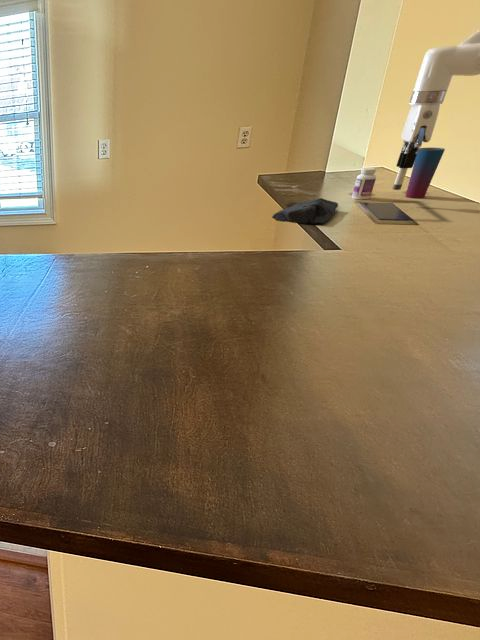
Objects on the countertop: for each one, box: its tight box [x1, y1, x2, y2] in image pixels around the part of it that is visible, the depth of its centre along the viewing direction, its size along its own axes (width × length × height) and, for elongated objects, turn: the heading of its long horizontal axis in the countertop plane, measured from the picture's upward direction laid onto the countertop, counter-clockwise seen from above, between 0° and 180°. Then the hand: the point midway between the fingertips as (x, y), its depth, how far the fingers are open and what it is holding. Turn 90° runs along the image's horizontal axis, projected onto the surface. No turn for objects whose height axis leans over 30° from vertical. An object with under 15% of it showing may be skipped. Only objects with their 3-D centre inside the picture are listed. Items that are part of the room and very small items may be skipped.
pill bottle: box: [351, 167, 377, 200], centre depth 163 cm, size 5×5×10 cm
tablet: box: [357, 201, 420, 226], centre depth 145 cm, size 16×24×1 cm, turn 158°
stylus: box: [392, 147, 409, 191], centre depth 145 cm, size 2×2×12 cm
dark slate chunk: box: [271, 197, 339, 225], centre depth 149 cm, size 15×22×5 cm
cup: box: [405, 146, 445, 199], centre depth 158 cm, size 7×7×15 cm
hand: (404, 166), depth 144 cm, fingers closed on stylus, 2 cm apart
